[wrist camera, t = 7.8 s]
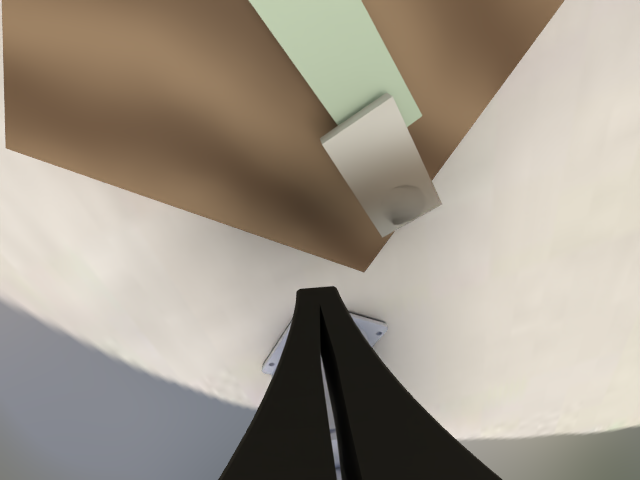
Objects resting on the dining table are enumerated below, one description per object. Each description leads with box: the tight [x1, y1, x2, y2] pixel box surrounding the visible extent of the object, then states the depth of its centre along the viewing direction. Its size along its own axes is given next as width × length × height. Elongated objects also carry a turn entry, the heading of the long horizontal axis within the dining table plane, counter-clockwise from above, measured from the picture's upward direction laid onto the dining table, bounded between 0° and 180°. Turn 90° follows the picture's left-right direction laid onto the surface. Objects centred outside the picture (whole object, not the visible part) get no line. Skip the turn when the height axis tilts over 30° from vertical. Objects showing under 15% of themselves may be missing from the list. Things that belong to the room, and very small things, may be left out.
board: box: [2, 0, 564, 272], centre depth 12 cm, size 18×20×6 cm
